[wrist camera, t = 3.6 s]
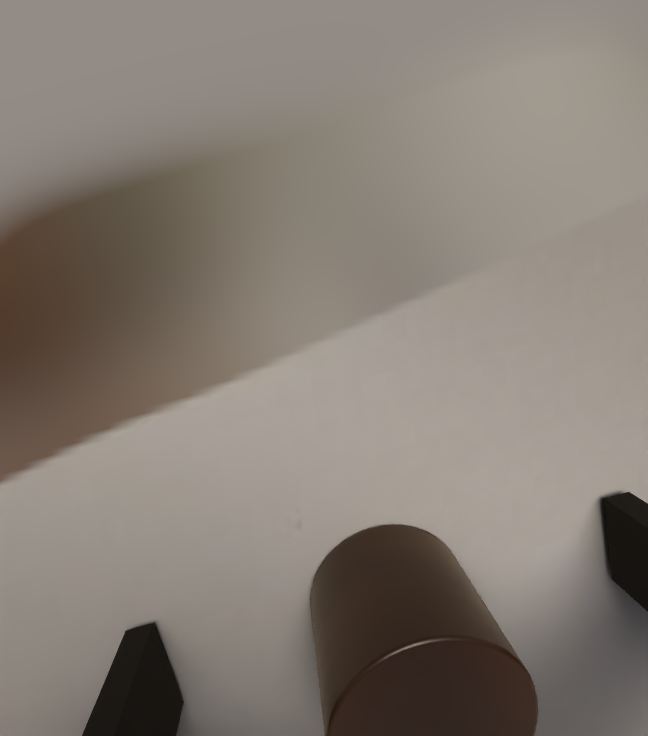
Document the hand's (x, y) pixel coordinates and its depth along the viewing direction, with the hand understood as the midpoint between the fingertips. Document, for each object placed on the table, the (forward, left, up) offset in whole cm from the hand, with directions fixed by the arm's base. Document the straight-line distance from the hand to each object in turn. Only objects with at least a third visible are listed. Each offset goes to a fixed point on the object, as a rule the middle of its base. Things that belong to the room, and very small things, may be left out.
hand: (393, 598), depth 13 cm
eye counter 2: (0, 0, 0) cm, 0 cm away
